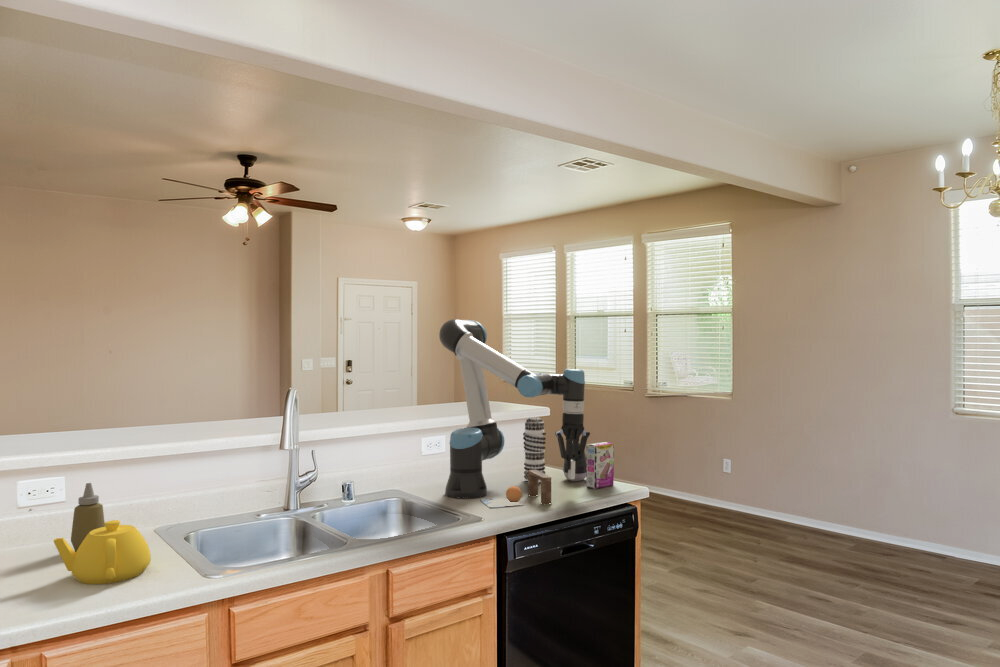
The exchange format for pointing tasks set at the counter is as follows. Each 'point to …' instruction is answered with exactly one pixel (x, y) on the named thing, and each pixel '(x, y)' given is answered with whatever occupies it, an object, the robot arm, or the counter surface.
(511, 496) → the ball
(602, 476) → the candy bar box
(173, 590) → the counter surface
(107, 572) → the teapot
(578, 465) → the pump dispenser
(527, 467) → the decorative candle
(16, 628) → the counter surface
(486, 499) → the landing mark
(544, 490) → the bridge
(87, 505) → the squeeze bottle
